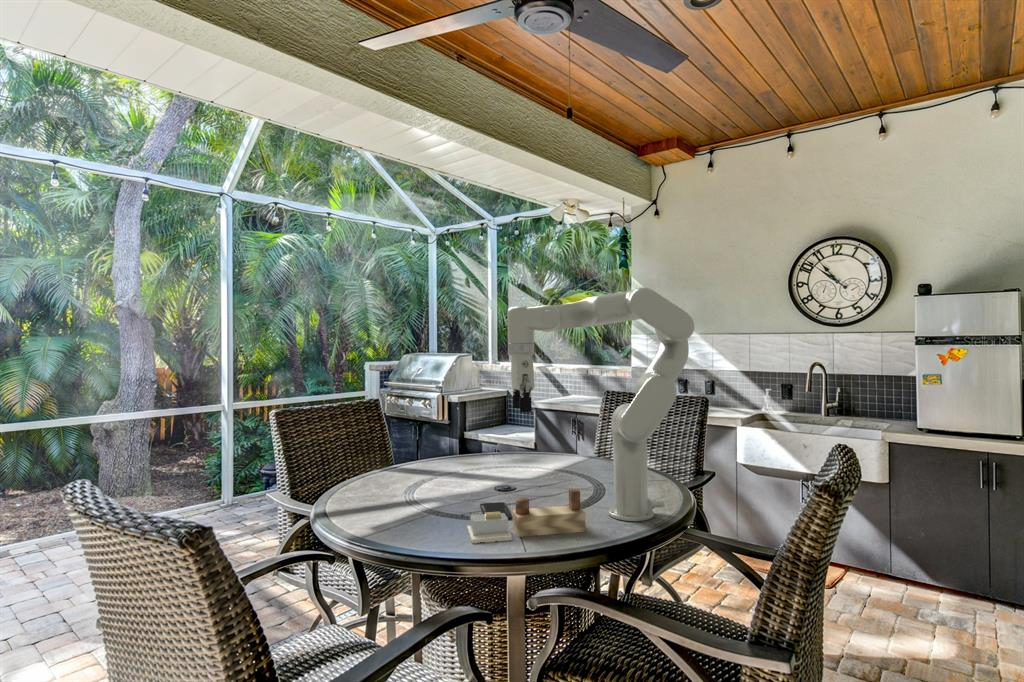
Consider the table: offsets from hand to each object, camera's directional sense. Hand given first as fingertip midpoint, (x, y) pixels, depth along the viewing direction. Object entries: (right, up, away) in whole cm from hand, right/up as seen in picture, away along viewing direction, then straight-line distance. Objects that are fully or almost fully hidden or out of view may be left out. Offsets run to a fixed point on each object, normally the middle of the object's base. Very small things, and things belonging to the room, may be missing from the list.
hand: (521, 409), depth 164 cm
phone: (-8, -31, +5) cm, 32 cm away
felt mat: (-9, -30, -15) cm, 35 cm away
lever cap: (-9, -29, -15) cm, 34 cm away
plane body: (+7, -30, -12) cm, 33 cm away
